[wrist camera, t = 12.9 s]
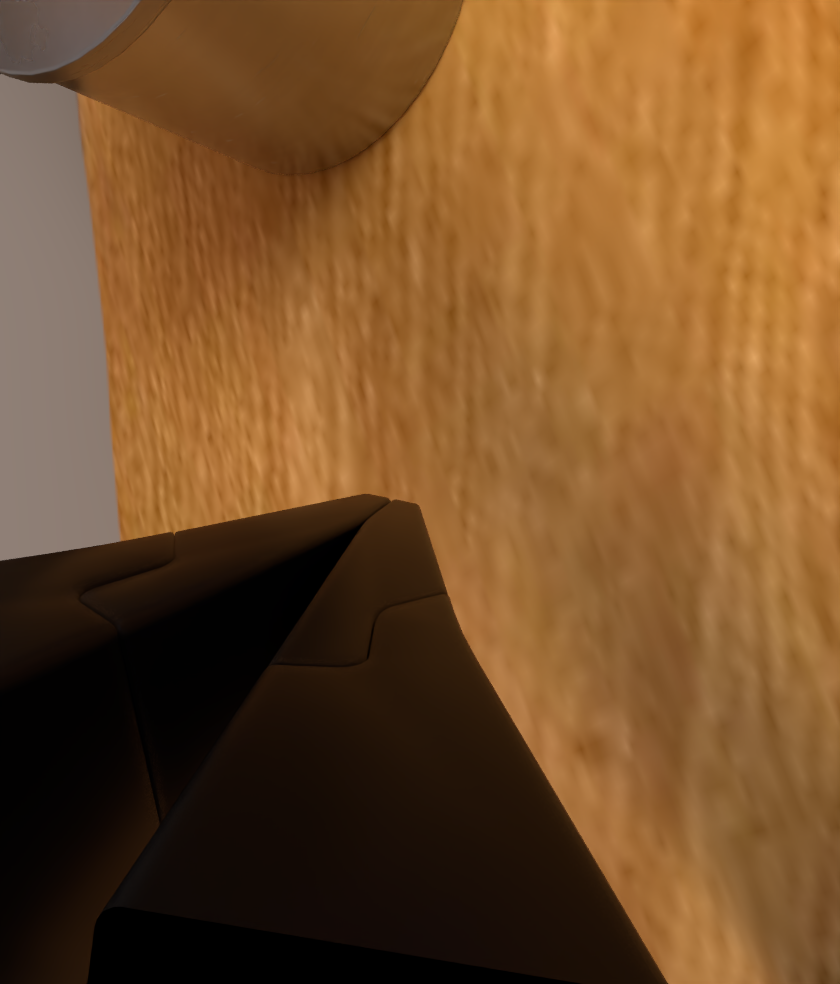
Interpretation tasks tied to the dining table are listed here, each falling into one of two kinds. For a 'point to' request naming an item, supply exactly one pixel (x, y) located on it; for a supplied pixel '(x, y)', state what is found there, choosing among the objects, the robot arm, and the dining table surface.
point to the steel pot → (239, 67)
